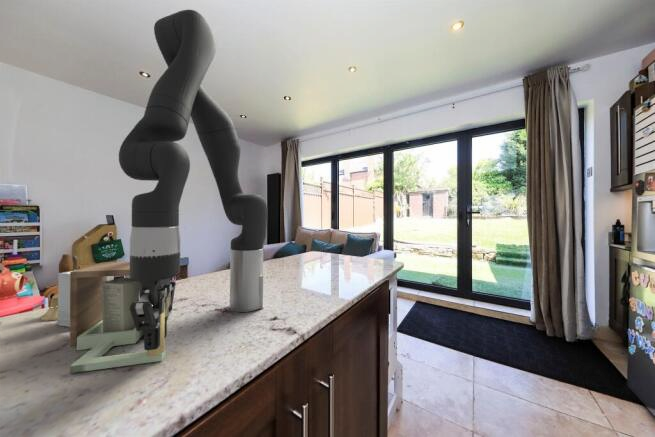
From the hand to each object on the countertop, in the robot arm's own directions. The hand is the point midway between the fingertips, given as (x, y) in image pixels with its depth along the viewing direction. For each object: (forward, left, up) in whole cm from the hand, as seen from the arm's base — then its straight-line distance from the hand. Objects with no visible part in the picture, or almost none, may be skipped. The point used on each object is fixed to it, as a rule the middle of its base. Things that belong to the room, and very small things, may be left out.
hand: (156, 343), depth 44 cm
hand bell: (+31, -29, -3) cm, 43 cm away
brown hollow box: (+11, -14, -3) cm, 18 cm away
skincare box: (+11, -13, -3) cm, 17 cm away
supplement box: (+23, -23, -3) cm, 33 cm away
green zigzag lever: (+7, -8, -3) cm, 11 cm away
